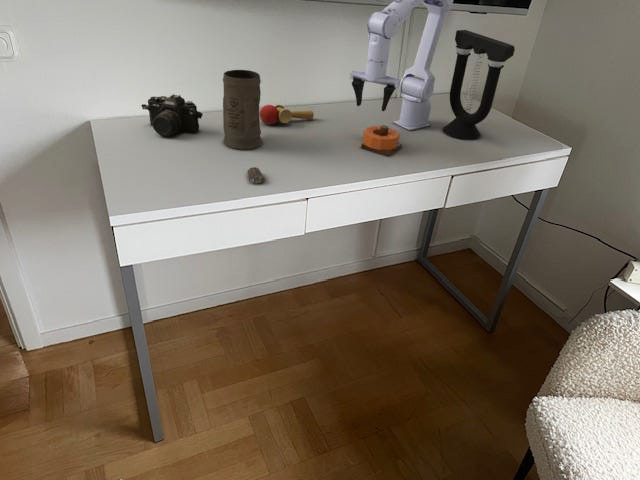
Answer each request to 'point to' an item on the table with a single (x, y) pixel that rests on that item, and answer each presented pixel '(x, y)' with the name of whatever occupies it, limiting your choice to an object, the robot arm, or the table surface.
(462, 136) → the spring support
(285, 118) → the kendama
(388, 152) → the stand
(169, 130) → the film camera
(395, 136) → the ring
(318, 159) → the table surface
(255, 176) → the block
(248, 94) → the beer stein
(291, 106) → the table surface
